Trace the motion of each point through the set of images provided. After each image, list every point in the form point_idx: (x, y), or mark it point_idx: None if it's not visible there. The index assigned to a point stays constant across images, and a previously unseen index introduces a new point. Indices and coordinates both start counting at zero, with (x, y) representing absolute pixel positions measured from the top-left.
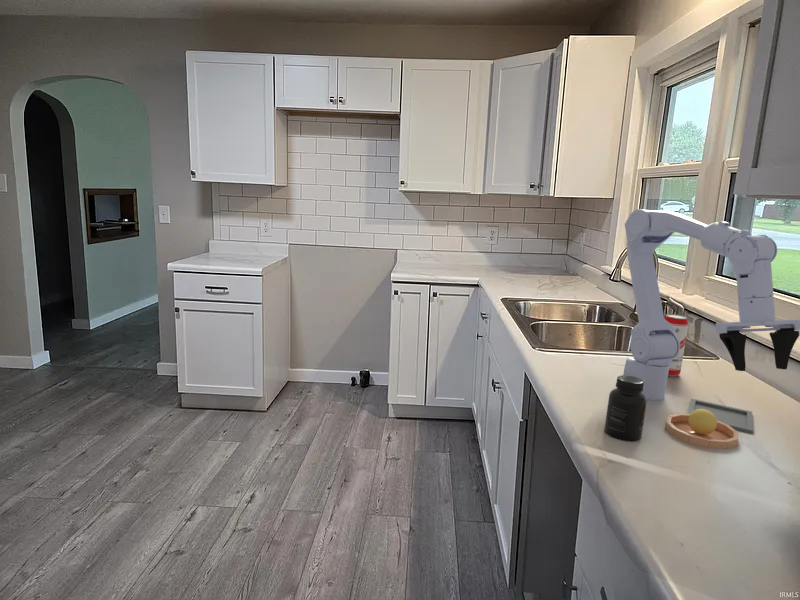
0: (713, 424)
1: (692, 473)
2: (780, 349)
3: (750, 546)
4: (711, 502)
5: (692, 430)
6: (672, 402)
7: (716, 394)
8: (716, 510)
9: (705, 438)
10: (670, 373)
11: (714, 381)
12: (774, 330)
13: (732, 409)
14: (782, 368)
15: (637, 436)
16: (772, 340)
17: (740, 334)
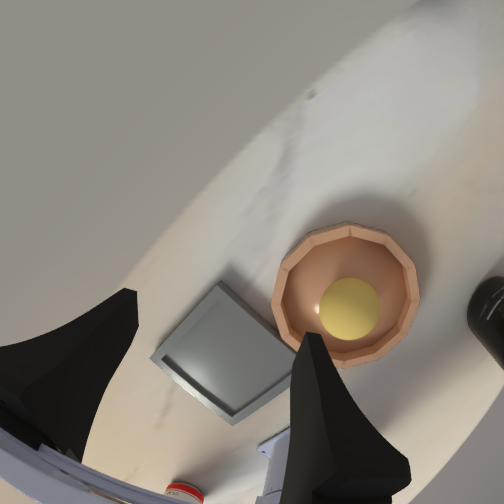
0: (348, 282)
1: (471, 160)
2: (94, 365)
3: (488, 7)
4: (490, 82)
5: None
6: (267, 428)
7: (154, 429)
8: (493, 65)
9: (389, 247)
10: (189, 488)
11: (127, 454)
12: (71, 459)
13: (180, 375)
14: (135, 297)
15: (499, 280)
16: (88, 429)
17: (319, 499)
